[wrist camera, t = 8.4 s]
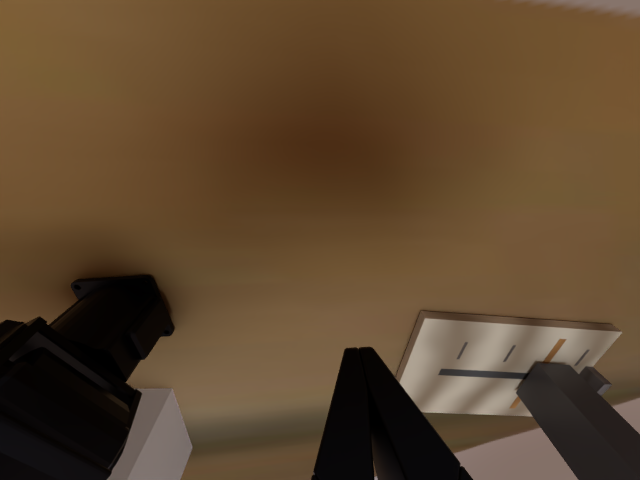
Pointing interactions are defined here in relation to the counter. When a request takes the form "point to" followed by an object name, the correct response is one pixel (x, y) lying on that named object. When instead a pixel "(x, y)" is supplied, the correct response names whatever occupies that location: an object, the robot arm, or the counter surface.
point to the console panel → (493, 359)
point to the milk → (155, 440)
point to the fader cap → (581, 424)
